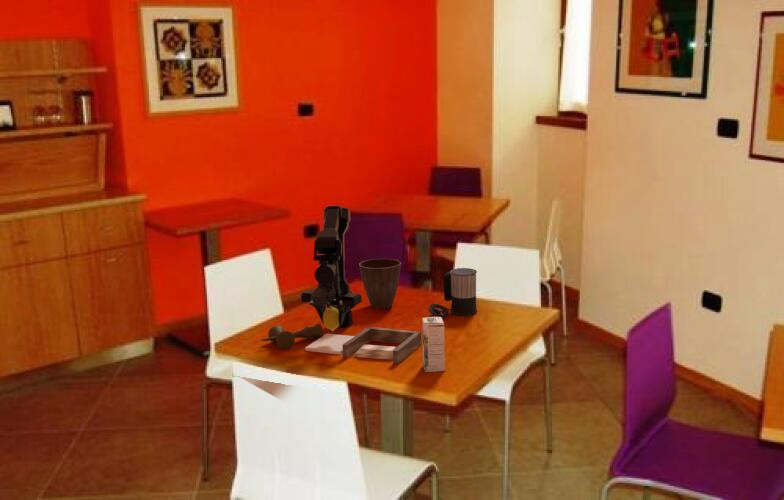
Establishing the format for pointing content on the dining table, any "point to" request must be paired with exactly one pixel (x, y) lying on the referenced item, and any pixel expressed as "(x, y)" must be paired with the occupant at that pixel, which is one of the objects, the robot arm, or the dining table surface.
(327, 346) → the tile
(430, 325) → the syrup box
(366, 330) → the walnut rack
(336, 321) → the lemon
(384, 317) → the dining table surface
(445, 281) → the milk frother
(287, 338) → the kendama
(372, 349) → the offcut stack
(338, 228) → the robot arm
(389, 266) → the plant pot
